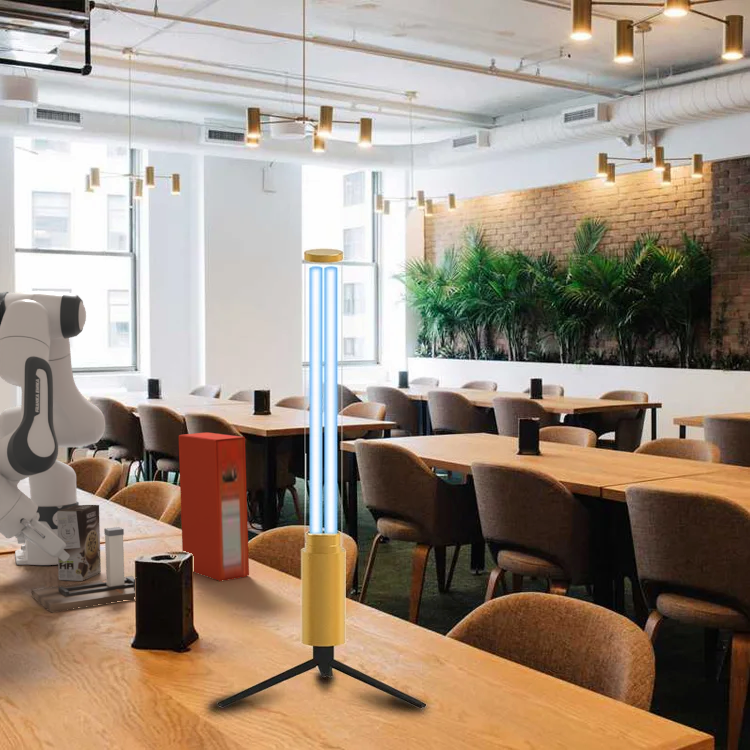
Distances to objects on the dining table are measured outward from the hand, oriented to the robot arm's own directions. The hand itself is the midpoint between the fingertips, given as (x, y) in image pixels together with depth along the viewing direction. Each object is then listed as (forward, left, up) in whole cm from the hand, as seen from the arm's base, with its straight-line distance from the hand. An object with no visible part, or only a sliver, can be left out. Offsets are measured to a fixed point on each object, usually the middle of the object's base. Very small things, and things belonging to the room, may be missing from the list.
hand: (65, 557), depth 220 cm
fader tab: (0, +10, -7) cm, 13 cm away
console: (0, +6, -9) cm, 11 cm away
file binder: (-6, +36, -9) cm, 37 cm away
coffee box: (-21, +9, -9) cm, 24 cm away
